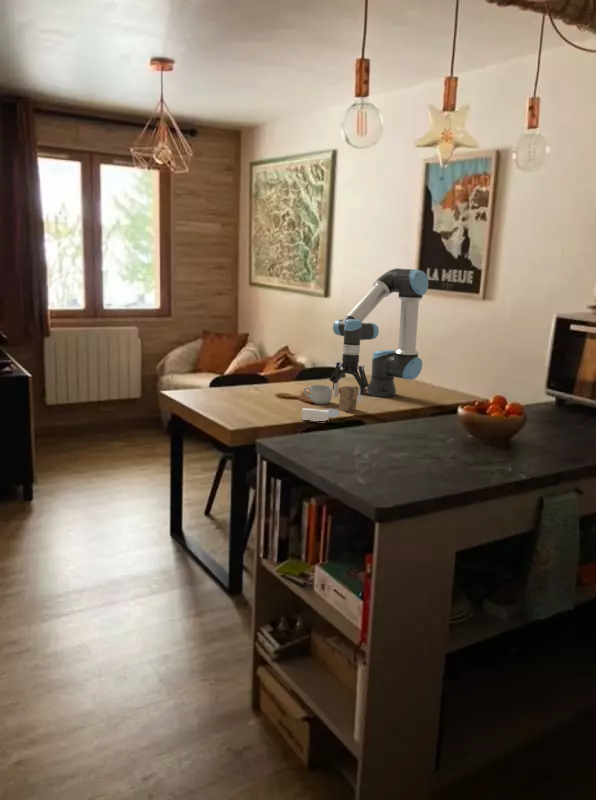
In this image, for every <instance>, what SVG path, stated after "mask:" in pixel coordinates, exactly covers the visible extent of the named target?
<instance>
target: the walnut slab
mask: <svg viewBox="0 0 596 800" xmlns="http://www.w3.org/2000/svg"><path fill="white" fill-rule="evenodd" d="M358 390H359V385H358V386H357V385H352V384H351V385H346V386H345V385H344V386H340V390H339V391H340V392H339V402H338V403H339V405H338V410H339V411H343V412H346V411H347V412H351V411H350V410H352V411H355V410H354V409H356V410H357V403H358Z"/></svg>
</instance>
